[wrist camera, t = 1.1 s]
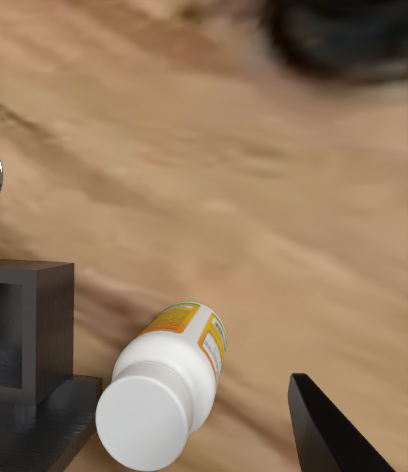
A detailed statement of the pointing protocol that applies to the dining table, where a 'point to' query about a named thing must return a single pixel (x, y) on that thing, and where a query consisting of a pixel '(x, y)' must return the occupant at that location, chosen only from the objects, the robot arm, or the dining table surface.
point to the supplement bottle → (162, 387)
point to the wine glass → (1, 175)
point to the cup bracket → (41, 370)
